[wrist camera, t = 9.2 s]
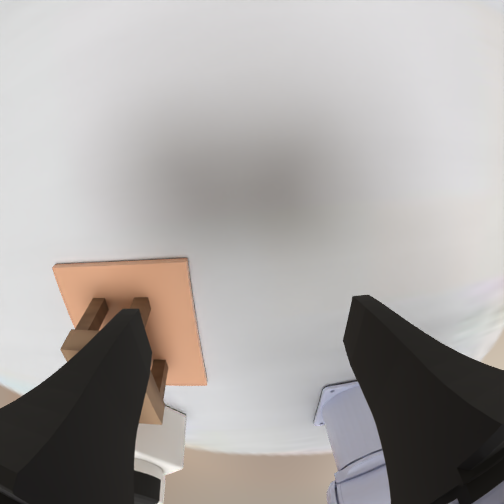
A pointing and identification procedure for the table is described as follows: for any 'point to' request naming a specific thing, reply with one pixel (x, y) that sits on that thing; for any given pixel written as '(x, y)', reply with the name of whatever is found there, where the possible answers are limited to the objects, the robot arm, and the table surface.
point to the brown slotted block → (158, 373)
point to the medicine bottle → (158, 456)
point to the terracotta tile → (161, 302)
